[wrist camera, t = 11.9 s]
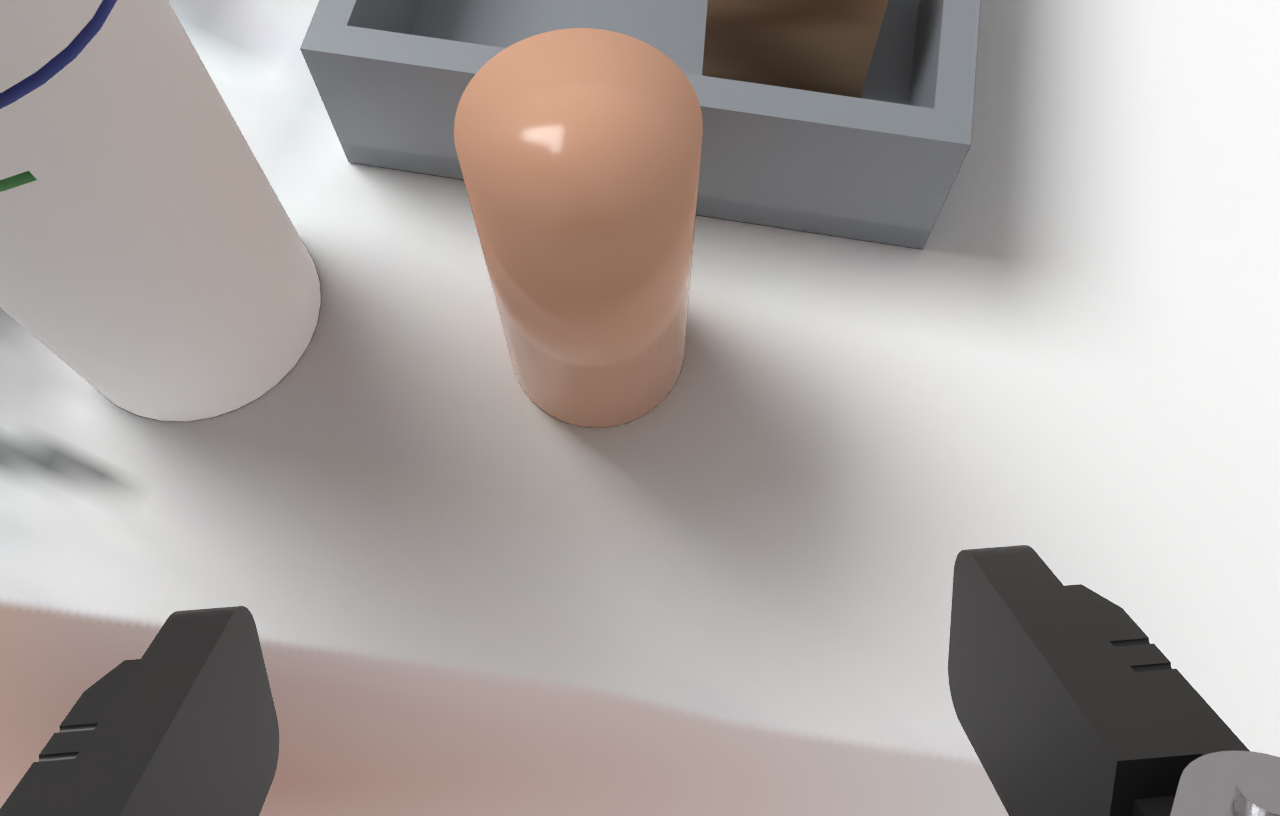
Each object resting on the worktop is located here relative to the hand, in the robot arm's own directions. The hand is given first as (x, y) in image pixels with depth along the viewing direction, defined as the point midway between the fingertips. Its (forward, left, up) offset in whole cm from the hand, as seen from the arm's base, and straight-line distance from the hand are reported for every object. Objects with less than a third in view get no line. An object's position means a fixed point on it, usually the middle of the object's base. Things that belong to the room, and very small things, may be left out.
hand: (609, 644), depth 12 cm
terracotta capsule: (-3, +11, -15) cm, 19 cm away
